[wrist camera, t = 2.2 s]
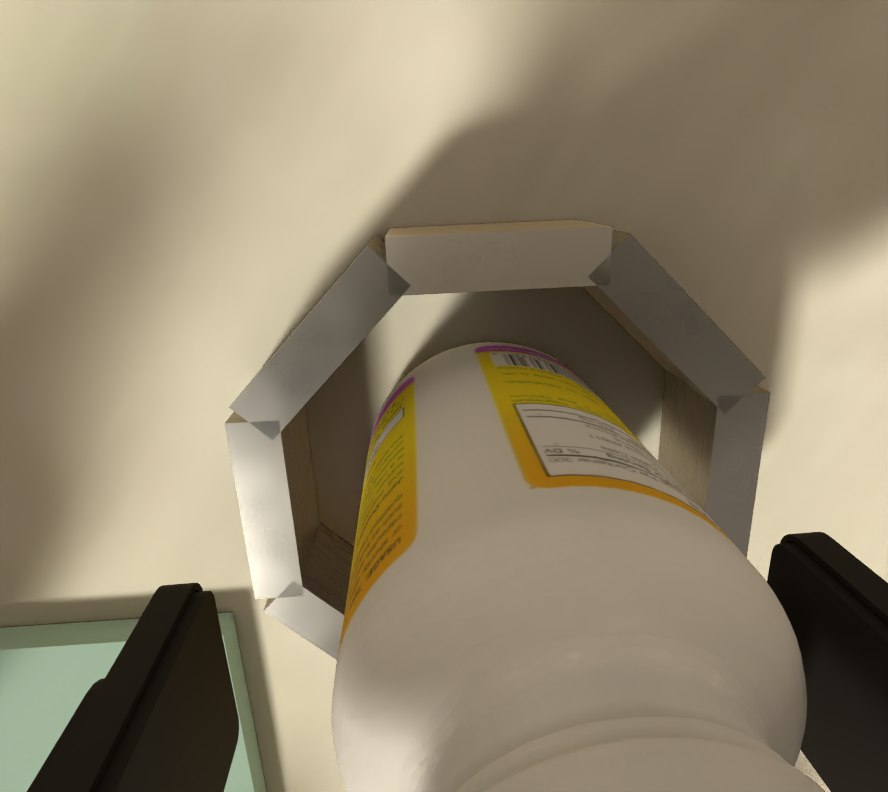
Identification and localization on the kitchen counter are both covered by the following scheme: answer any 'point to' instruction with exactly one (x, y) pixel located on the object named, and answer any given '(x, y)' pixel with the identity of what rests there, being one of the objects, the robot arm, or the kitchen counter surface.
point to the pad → (70, 677)
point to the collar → (472, 270)
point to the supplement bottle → (549, 604)
